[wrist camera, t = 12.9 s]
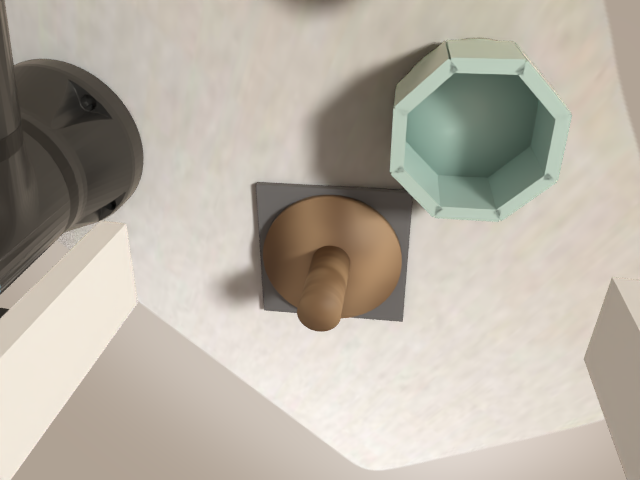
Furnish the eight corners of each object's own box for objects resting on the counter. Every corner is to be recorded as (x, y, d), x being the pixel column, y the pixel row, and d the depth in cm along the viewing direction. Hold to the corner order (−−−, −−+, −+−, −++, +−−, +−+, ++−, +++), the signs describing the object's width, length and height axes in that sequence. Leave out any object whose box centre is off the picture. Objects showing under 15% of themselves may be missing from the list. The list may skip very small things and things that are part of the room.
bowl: (390, 178, 51) (387, 215, 45) (398, 36, 45) (396, 56, 39) (532, 186, 50) (548, 224, 44) (560, 39, 44) (583, 61, 38)
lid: (268, 306, 59) (246, 367, 52) (261, 190, 53) (234, 239, 45) (397, 317, 58) (394, 381, 50) (406, 198, 51) (404, 250, 44)
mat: (265, 306, 60) (264, 310, 60) (257, 182, 53) (255, 184, 53) (402, 317, 58) (402, 321, 58) (412, 190, 51) (412, 193, 51)
